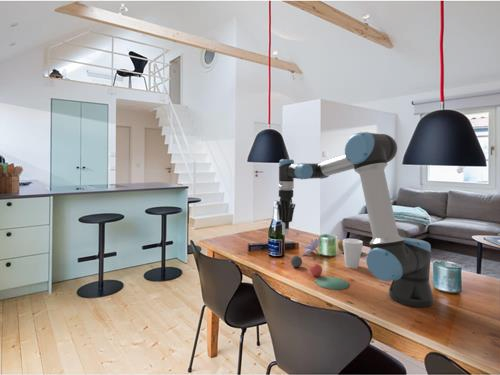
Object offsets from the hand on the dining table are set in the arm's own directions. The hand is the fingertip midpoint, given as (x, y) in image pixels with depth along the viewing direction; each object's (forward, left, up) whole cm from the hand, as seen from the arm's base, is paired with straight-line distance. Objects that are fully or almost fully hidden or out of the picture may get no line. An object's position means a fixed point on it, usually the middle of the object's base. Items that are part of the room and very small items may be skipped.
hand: (285, 234), depth 160 cm
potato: (-5, -43, -15) cm, 46 cm away
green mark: (-34, 0, -14) cm, 36 cm away
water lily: (+3, -22, -15) cm, 27 cm away
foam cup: (-23, -25, -15) cm, 37 cm away
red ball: (-24, 0, -12) cm, 26 cm away
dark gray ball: (-10, 0, -12) cm, 15 cm away
